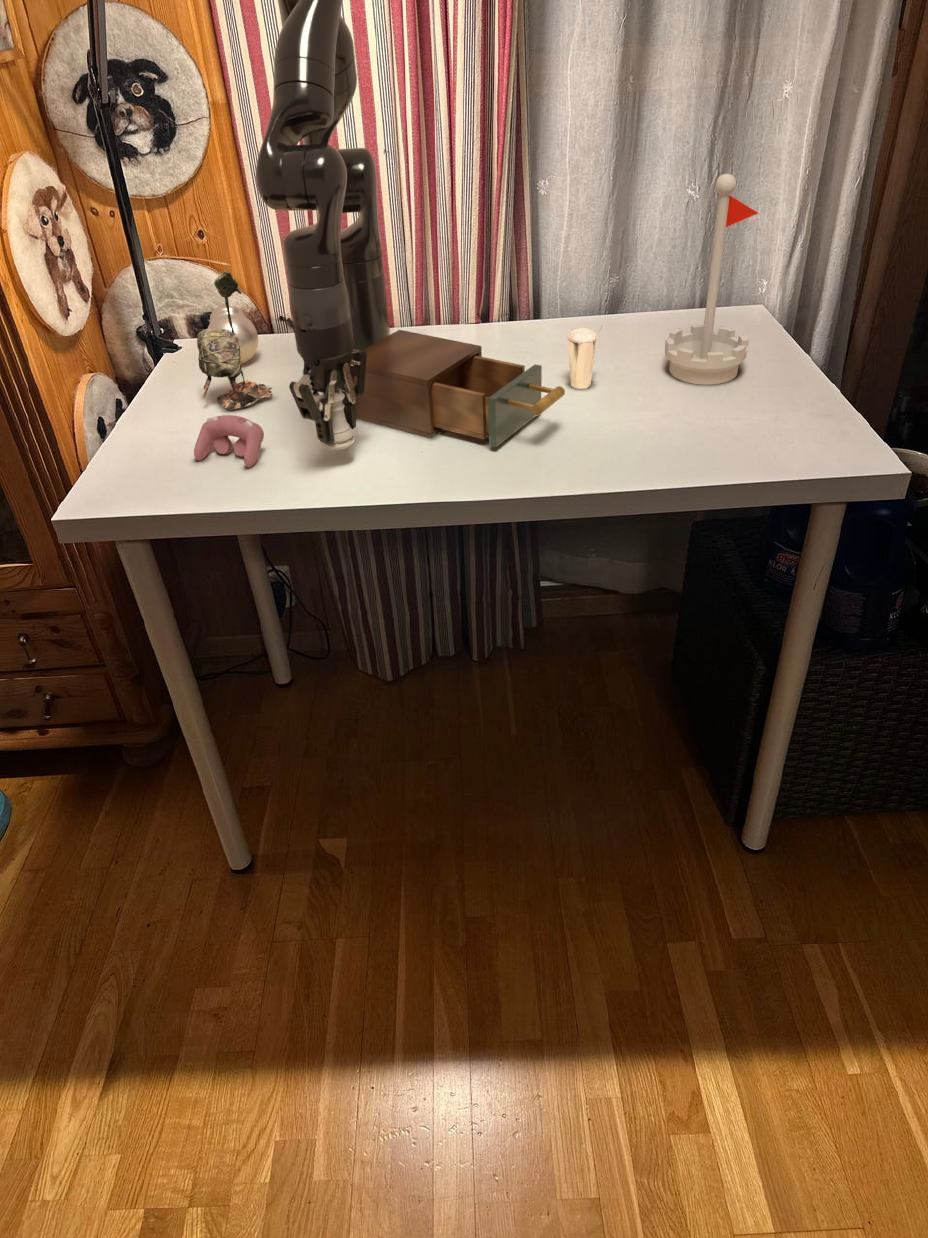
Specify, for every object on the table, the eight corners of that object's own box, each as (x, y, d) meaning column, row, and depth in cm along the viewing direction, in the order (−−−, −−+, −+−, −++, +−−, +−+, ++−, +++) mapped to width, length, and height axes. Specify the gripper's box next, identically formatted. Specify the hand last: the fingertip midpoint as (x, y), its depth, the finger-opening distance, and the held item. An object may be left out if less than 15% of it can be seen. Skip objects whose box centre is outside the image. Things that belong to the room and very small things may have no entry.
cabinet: (483, 401, 147) (481, 345, 141) (431, 438, 137) (427, 380, 132) (404, 382, 154) (399, 329, 148) (349, 417, 144) (342, 361, 139)
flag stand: (655, 381, 150) (672, 182, 131) (672, 351, 159) (690, 162, 141) (737, 391, 146) (767, 186, 127) (749, 360, 155) (779, 165, 137)
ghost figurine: (266, 350, 168) (256, 295, 162) (258, 371, 161) (247, 314, 154) (216, 353, 168) (204, 298, 162) (206, 373, 161) (193, 317, 154)
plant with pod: (202, 396, 153) (173, 274, 141) (270, 385, 155) (247, 263, 143) (206, 416, 147) (176, 290, 135) (277, 404, 149) (254, 279, 137)
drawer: (574, 418, 138) (575, 372, 134) (530, 455, 130) (530, 407, 125) (462, 392, 148) (459, 348, 143) (413, 426, 139) (409, 380, 134)
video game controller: (266, 467, 136) (269, 419, 134) (249, 468, 131) (252, 418, 130) (208, 459, 138) (210, 412, 137) (190, 460, 134) (192, 411, 133)
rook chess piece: (361, 438, 131) (354, 385, 126) (344, 452, 128) (337, 399, 123) (334, 433, 133) (326, 381, 128) (317, 447, 130) (309, 394, 125)
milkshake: (598, 391, 148) (601, 330, 142) (565, 390, 149) (566, 329, 143) (600, 379, 151) (603, 319, 145) (568, 378, 152) (569, 318, 146)
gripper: (333, 293, 125) (348, 409, 136) (262, 329, 116) (284, 450, 127) (377, 302, 122) (389, 420, 133) (307, 339, 113) (326, 463, 123)
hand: (338, 434), depth 130 cm, fingers closed on rook chess piece, 4 cm apart
